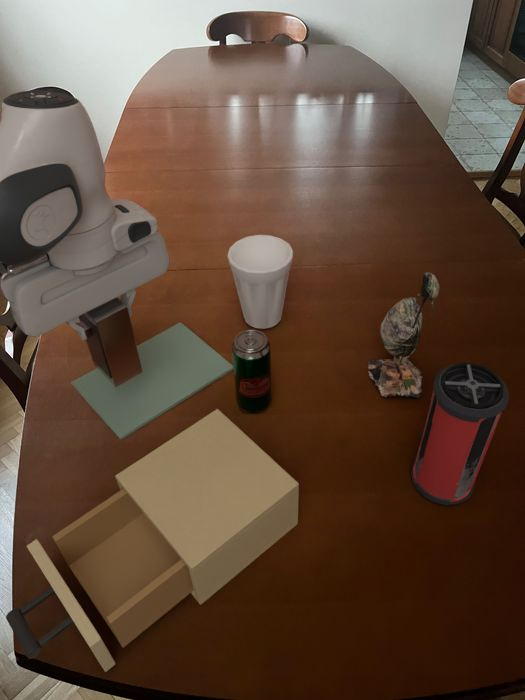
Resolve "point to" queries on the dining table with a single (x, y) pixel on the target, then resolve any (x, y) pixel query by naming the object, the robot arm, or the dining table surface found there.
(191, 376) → the mat
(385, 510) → the dining table surface
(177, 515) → the cabinet
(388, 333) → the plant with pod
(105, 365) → the brushed metal box
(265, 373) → the soda can
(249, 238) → the cup
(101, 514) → the drawer
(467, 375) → the speaker
